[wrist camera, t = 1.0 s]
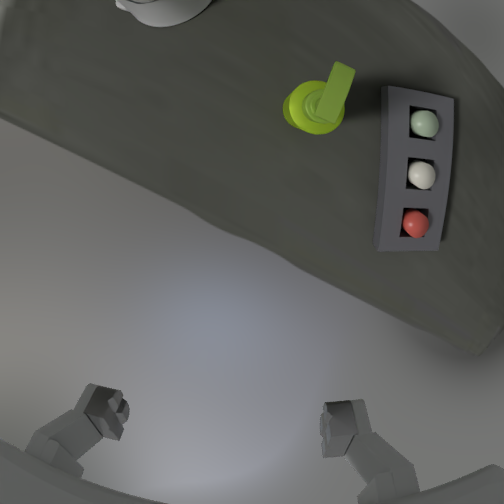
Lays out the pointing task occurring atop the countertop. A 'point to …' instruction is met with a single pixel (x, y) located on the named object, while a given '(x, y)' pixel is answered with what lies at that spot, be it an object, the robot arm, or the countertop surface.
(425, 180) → the button cream
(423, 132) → the button sage
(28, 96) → the countertop surface
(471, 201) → the countertop surface
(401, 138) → the console
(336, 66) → the soap dispenser
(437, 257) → the countertop surface
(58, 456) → the robot arm
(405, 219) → the button red
